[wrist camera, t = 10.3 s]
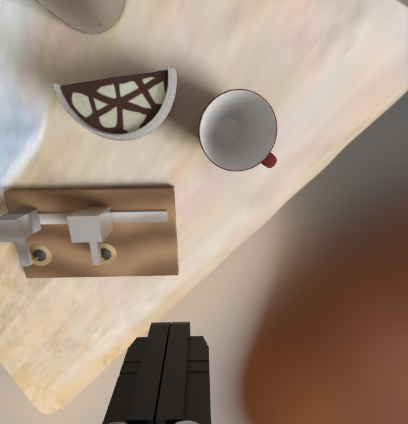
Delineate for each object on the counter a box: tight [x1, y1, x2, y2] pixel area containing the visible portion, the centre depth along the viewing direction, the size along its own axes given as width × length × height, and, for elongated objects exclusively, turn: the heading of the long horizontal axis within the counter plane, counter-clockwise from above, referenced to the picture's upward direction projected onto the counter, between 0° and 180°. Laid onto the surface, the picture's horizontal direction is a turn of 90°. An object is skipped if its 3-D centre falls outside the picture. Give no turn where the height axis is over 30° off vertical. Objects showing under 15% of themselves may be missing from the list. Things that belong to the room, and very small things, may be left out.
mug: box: [199, 89, 277, 171], centre depth 31 cm, size 10×8×10 cm
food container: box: [53, 66, 177, 141], centre depth 30 cm, size 12×6×10 cm, turn 98°
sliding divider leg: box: [67, 206, 113, 265], centre depth 35 cm, size 8×4×4 cm, turn 1°
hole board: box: [0, 187, 179, 278], centre depth 37 cm, size 14×24×6 cm, turn 91°
